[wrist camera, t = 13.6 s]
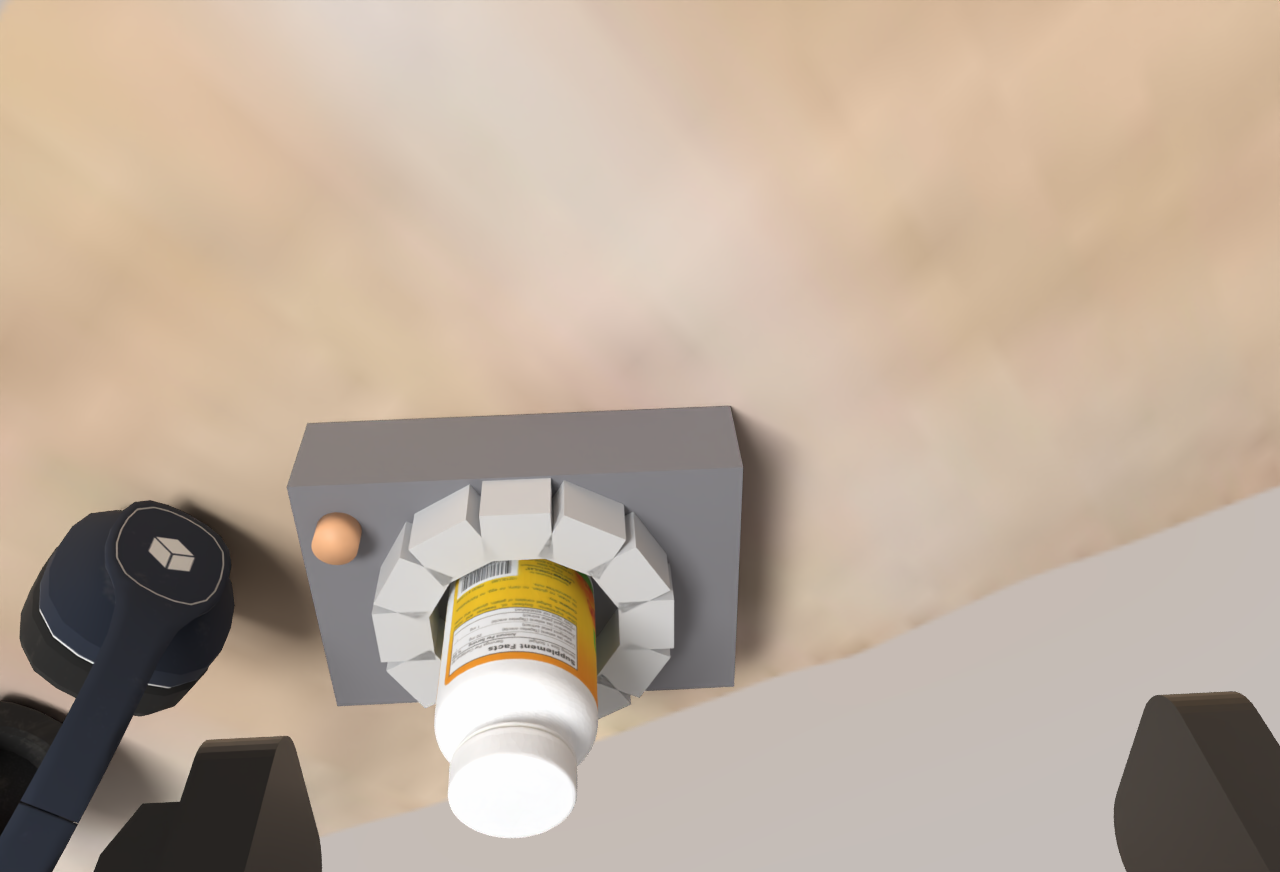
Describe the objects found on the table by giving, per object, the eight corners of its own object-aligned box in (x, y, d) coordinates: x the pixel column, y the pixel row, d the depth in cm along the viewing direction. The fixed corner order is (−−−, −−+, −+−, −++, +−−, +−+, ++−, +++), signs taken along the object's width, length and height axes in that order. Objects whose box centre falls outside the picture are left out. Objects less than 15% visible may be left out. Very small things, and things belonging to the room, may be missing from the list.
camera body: (730, 406, 45) (750, 501, 40) (723, 618, 51) (739, 724, 46) (307, 423, 44) (275, 523, 39) (352, 636, 51) (329, 745, 46)
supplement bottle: (562, 654, 46) (562, 868, 38) (431, 618, 45) (401, 833, 37) (616, 556, 44) (627, 764, 36) (478, 514, 42) (457, 721, 34)
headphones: (67, 795, 55) (-119, 1229, 40) (-82, 736, 53) (-341, 1179, 38) (281, 529, 47) (148, 950, 32) (118, 443, 45) (-111, 860, 29)
